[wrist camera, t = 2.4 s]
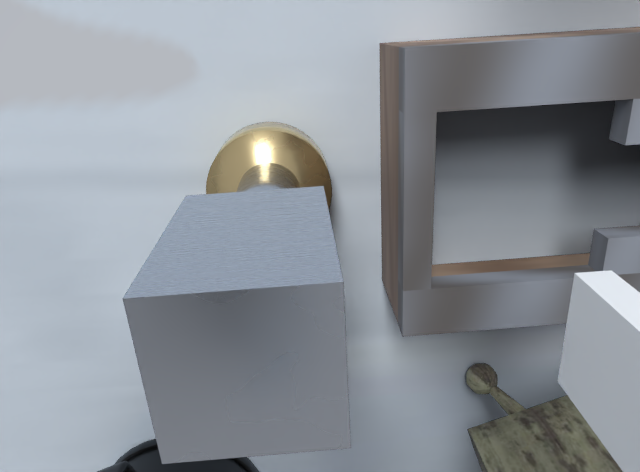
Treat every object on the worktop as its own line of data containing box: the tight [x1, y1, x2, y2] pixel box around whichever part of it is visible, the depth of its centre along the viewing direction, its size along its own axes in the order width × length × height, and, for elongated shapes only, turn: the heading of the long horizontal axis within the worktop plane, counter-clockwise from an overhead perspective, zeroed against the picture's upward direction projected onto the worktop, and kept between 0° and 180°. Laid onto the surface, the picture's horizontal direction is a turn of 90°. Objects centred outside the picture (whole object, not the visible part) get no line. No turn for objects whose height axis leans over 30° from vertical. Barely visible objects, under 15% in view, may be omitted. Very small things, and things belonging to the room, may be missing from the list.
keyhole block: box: [380, 27, 640, 337], centre depth 21 cm, size 15×11×5 cm
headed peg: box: [123, 122, 351, 464], centre depth 16 cm, size 5×5×14 cm
